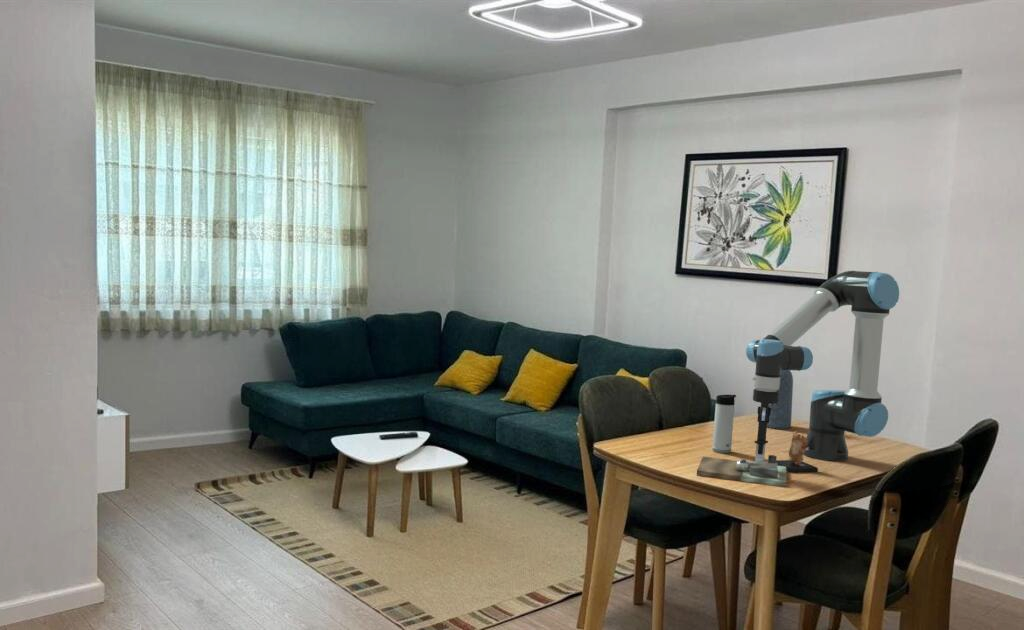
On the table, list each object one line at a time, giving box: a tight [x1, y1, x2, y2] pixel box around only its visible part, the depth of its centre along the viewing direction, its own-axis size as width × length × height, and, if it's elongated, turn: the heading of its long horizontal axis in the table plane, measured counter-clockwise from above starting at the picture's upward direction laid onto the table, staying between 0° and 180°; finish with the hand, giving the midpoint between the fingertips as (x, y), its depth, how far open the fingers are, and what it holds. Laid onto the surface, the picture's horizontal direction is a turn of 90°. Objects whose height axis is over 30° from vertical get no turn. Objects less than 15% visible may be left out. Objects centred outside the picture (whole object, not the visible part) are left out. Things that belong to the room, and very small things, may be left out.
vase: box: [767, 370, 794, 430], centre depth 343 cm, size 12×12×28 cm
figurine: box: [776, 430, 819, 474], centre depth 273 cm, size 10×10×12 cm
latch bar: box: [736, 454, 778, 471], centre depth 261 cm, size 13×4×4 cm, turn 100°
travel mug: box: [711, 394, 737, 454], centre depth 292 cm, size 6×7×20 cm
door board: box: [696, 456, 787, 488], centre depth 264 cm, size 26×20×4 cm
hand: (759, 463), depth 264 cm, fingers closed
